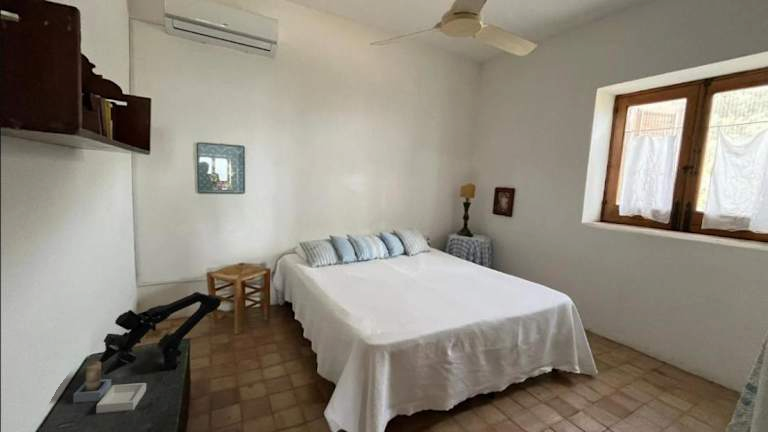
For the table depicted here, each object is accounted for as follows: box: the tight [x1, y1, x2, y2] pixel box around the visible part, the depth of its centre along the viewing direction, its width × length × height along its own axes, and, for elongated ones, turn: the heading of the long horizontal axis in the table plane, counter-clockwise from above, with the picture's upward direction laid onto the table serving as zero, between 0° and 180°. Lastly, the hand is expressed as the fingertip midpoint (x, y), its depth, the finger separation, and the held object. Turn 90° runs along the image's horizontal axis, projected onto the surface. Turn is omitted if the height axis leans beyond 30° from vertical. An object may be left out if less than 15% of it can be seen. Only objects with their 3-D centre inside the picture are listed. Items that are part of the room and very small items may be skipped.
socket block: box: [72, 378, 112, 404], centre depth 126 cm, size 8×8×4 cm
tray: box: [95, 382, 147, 415], centre depth 124 cm, size 12×12×4 cm
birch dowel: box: [85, 360, 102, 391], centre depth 125 cm, size 4×4×13 cm
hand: (101, 369), depth 127 cm, fingers open, 9 cm apart
